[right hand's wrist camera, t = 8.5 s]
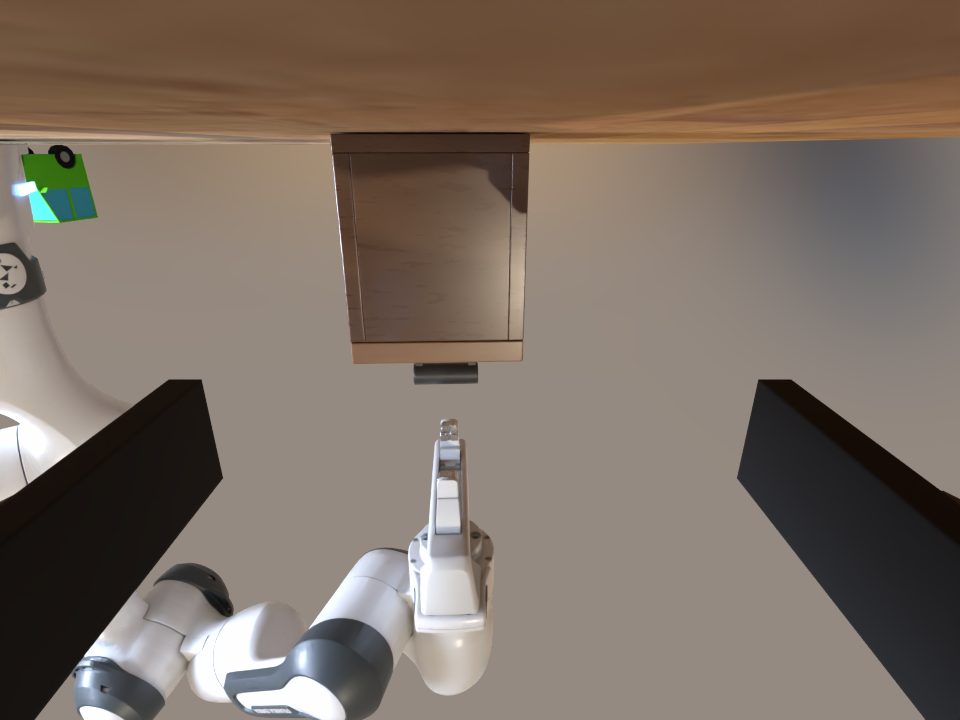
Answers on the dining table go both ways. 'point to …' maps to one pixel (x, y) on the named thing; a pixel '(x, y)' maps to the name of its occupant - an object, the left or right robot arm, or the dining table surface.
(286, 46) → the dining table surface
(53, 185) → the toy car
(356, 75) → the dining table surface
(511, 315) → the chest
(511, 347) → the lid
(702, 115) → the dining table surface
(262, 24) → the dining table surface
